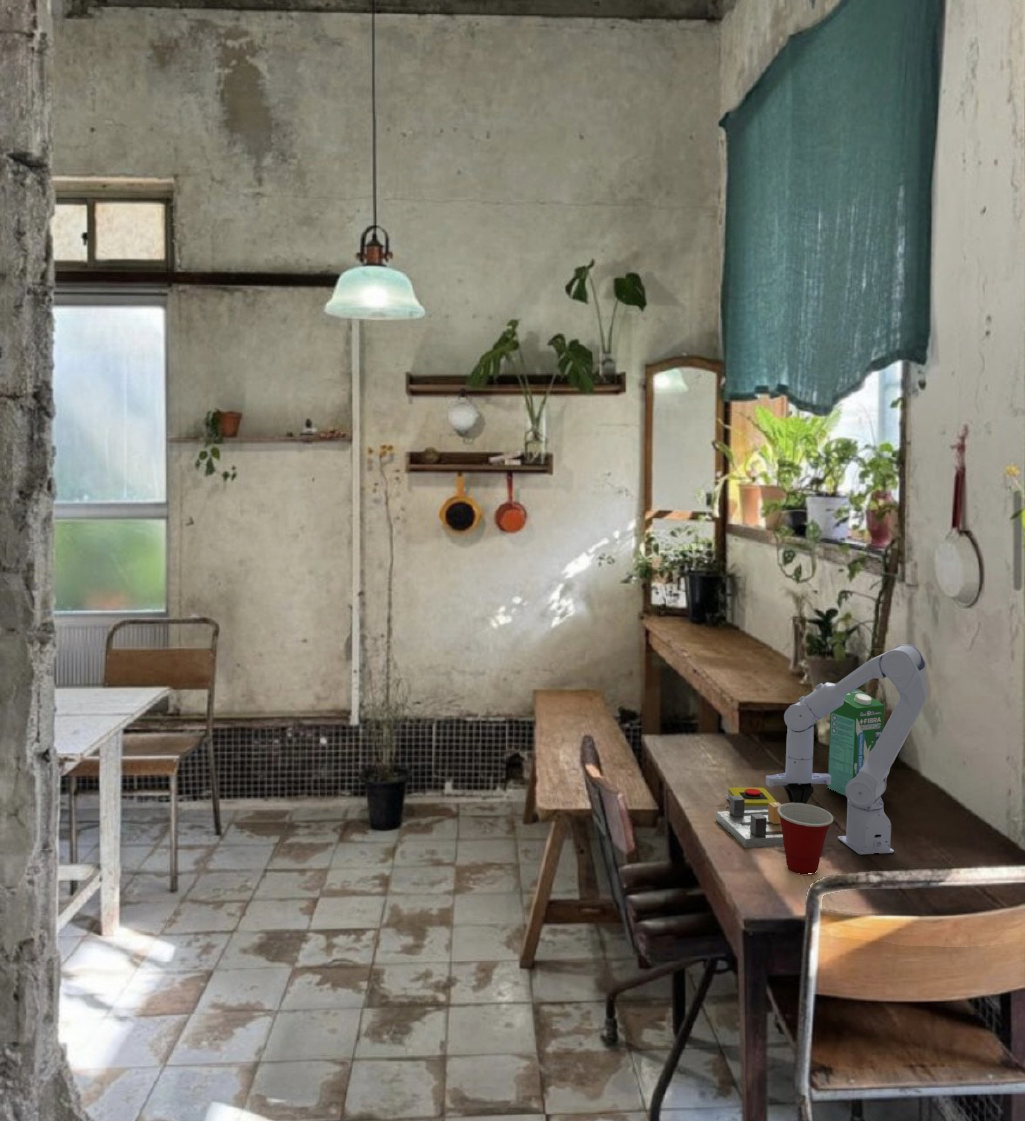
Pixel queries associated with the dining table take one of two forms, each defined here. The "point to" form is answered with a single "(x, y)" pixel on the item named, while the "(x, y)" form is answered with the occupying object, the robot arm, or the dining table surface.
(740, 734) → the dining table surface
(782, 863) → the dining table surface
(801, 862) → the plastic cup
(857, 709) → the milk carton
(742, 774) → the dining table surface
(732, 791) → the emergency button
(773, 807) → the breaker
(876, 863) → the dining table surface
